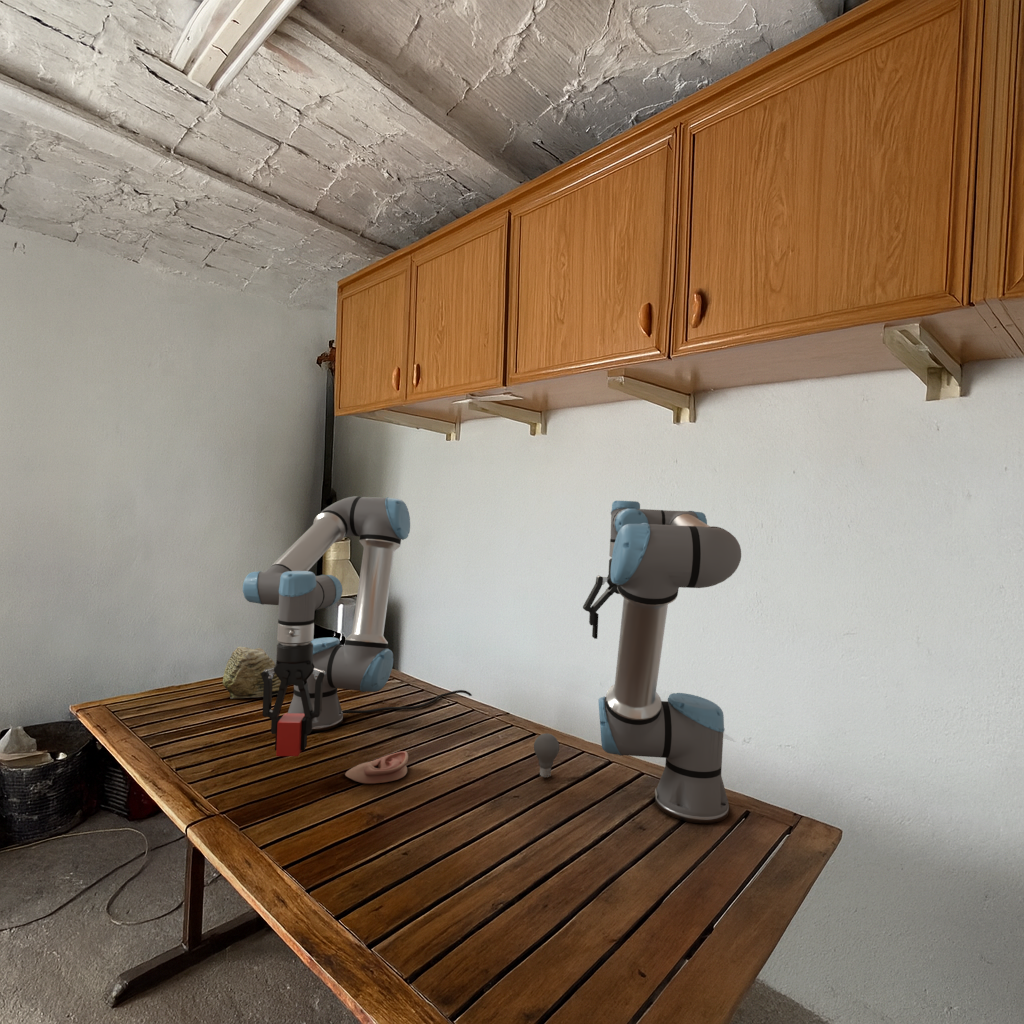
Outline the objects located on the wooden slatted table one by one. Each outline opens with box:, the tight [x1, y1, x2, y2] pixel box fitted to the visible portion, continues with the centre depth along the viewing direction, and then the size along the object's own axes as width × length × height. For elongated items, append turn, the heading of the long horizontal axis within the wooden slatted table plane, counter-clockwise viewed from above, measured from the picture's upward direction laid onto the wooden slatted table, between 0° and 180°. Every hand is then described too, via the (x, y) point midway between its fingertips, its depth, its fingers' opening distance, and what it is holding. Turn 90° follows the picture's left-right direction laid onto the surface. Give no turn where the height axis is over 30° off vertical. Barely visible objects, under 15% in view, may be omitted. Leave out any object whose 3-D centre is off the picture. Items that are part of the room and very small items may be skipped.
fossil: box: [222, 646, 281, 699], centre depth 198 cm, size 9×18×15 cm, turn 132°
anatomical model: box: [344, 750, 409, 784], centre depth 146 cm, size 13×4×12 cm
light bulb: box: [533, 732, 560, 778], centre depth 148 cm, size 6×6×10 cm
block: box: [275, 712, 305, 757], centre depth 139 cm, size 5×6×7 cm
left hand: (291, 747), depth 139 cm, fingers closed on block, 5 cm apart
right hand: (619, 638), depth 169 cm, fingers open, 13 cm apart
